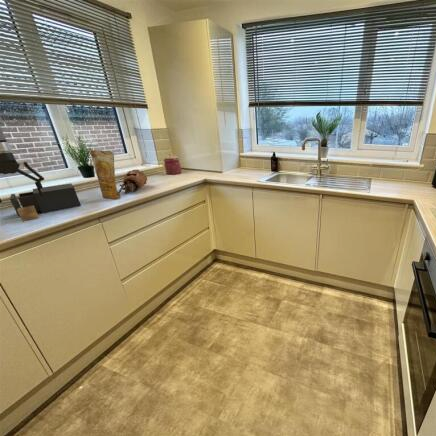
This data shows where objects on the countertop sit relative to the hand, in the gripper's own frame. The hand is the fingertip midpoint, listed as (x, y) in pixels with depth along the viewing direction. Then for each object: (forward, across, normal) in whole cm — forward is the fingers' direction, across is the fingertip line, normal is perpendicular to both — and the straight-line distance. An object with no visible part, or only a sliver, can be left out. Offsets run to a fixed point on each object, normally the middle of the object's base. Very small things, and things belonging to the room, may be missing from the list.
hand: (21, 198), depth 113 cm
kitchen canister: (+11, +91, +58) cm, 109 cm away
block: (+10, 0, 0) cm, 10 cm away
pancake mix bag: (+10, +36, +12) cm, 39 cm away
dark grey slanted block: (+10, +12, +12) cm, 20 cm away
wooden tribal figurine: (+11, +49, +21) cm, 55 cm away
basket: (+9, 0, +12) cm, 15 cm away
